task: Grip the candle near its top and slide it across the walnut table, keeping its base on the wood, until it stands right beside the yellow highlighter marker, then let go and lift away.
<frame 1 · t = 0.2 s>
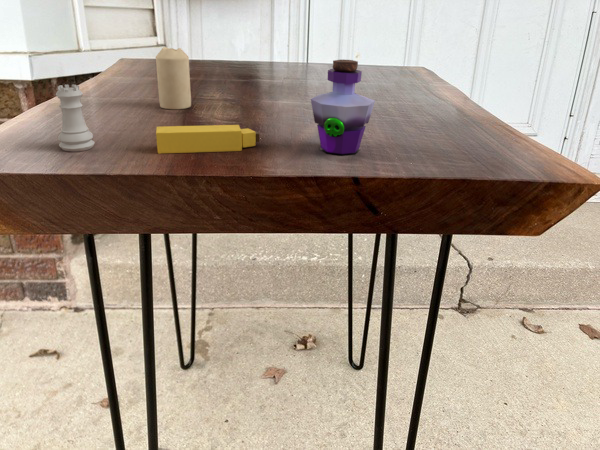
rook chess piece: (77, 148, 70), on the table
candle: (175, 107, 94), on the table
potion bottle: (339, 150, 73), on the table
yellow highlighter marker: (199, 148, 71), on the table
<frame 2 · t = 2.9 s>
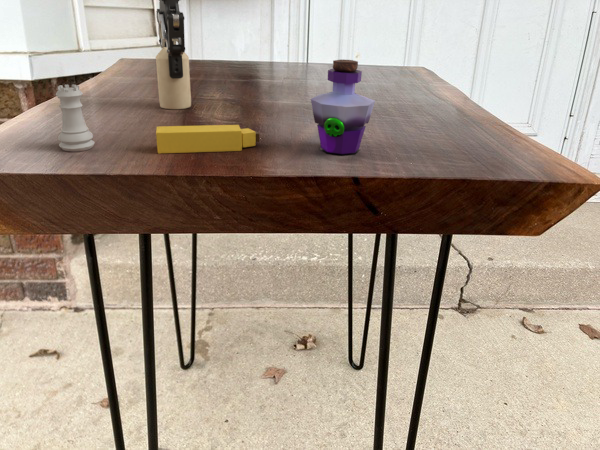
hand: (173, 74, 92), 6 cm above the table, tool pointing down, fingers closed on candle, 5 cm apart
candle: (175, 107, 94), on the table, touching gripper
everything else where it was.
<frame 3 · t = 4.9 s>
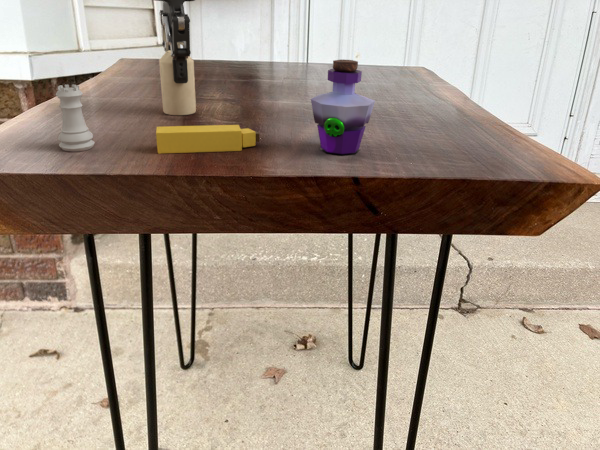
hand: (177, 79, 88), 6 cm above the table, tool pointing down, fingers closed on candle, 5 cm apart
candle: (179, 112, 90), on the table, touching gripper
everything else where it was.
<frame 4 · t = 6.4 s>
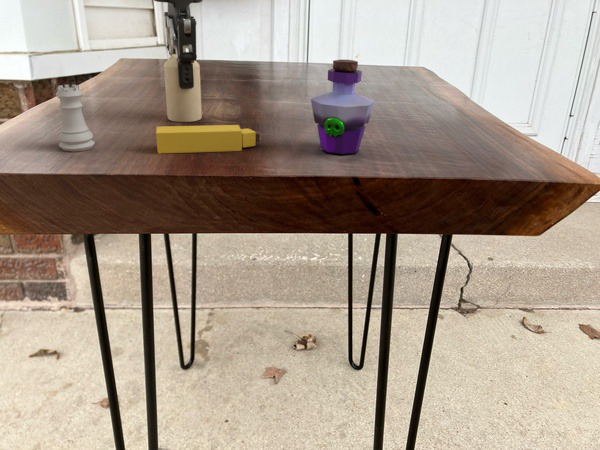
hand: (182, 84, 84), 6 cm above the table, tool pointing down, fingers closed on candle, 5 cm apart
candle: (184, 119, 86), on the table, touching gripper
everything else where it was.
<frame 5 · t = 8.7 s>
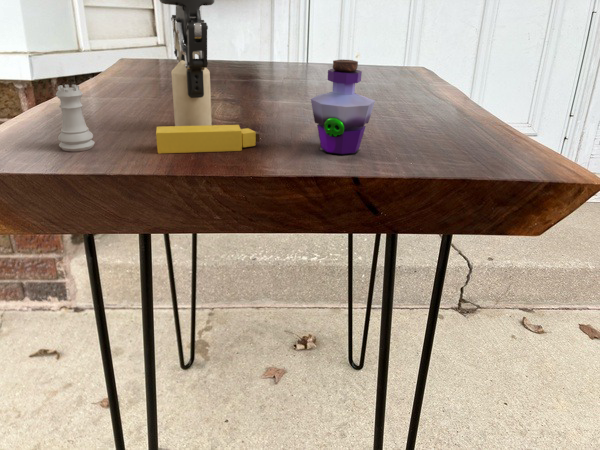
hand: (191, 92, 78), 6 cm above the table, tool pointing down, fingers closed on candle, 5 cm apart
candle: (193, 129, 81), on the table, touching gripper
everything else where it was.
when the fingers open (6 cm above the table, at t = 10.2 s): candle stays where it is, on the table.
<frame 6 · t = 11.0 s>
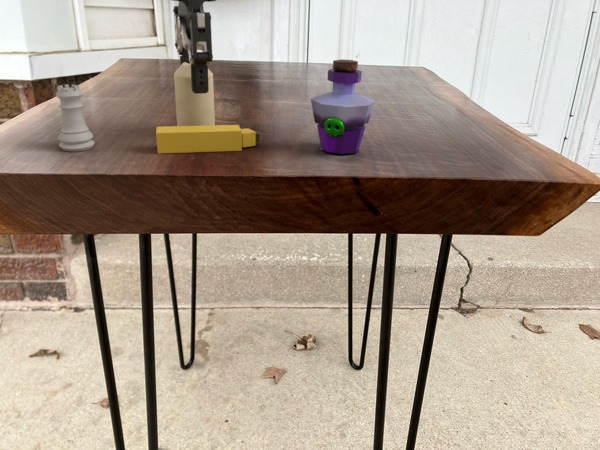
hand: (194, 87, 76), 7 cm above the table, tool pointing down, fingers open, 8 cm apart
candle: (196, 133, 79), on the table
everything else where it was.
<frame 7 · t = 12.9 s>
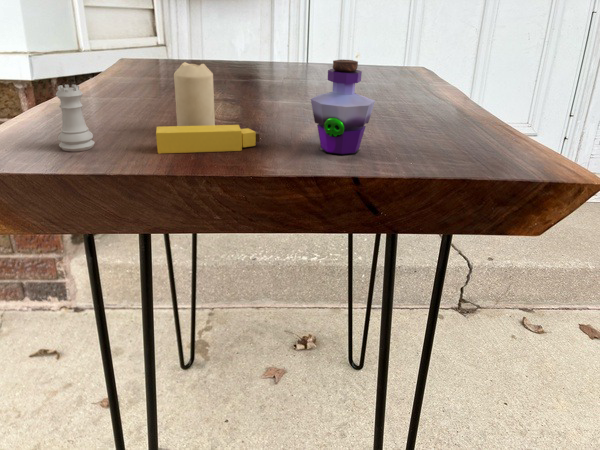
nothing on the table moved.
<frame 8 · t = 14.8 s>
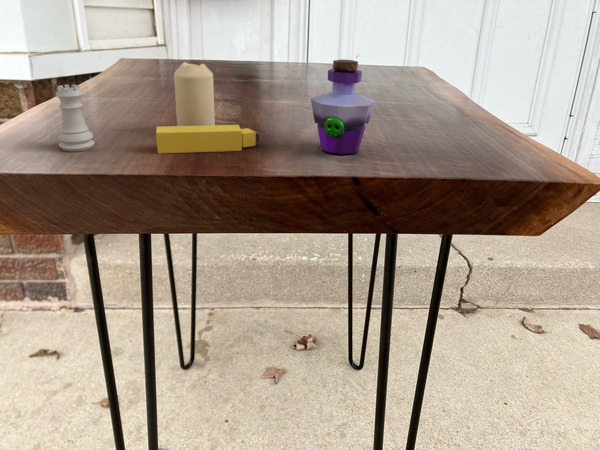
nothing on the table moved.
at the end: candle 8.6 cm from the yellow highlighter marker (horizontally); candle tilted 0°; candle moved 18.2 cm from its start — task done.
